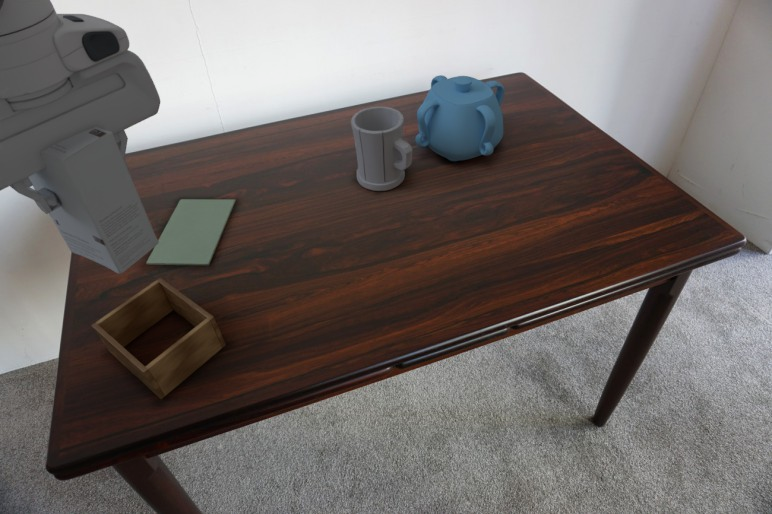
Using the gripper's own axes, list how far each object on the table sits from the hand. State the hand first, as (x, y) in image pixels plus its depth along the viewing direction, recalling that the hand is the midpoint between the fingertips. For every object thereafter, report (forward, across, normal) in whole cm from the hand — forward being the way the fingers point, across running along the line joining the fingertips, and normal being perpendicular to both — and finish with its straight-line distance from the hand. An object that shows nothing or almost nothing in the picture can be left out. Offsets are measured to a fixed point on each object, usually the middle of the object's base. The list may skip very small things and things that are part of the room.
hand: (87, 189), depth 53 cm
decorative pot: (+26, +63, -6) cm, 68 cm away
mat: (+26, +16, +16) cm, 34 cm away
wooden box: (+26, -1, -1) cm, 26 cm away
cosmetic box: (+8, 0, 0) cm, 8 cm away
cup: (+26, +46, -1) cm, 53 cm away
